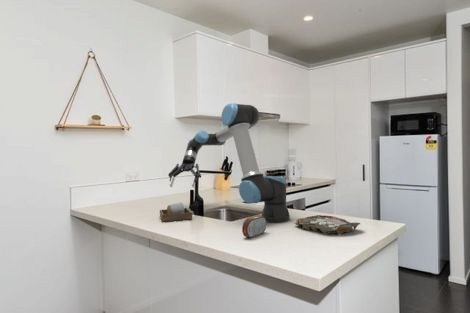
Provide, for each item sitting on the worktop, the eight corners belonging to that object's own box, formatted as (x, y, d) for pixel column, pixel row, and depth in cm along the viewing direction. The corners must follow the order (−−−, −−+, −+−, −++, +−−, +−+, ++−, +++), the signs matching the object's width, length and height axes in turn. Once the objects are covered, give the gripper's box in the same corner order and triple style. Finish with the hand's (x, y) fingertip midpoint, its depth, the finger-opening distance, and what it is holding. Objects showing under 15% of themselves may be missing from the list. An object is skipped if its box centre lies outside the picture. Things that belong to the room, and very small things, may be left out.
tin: (262, 231, 152) (261, 213, 152) (267, 232, 150) (267, 214, 150) (241, 239, 140) (241, 219, 140) (247, 240, 138) (247, 220, 138)
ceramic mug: (166, 216, 185) (166, 203, 185) (180, 214, 189) (180, 201, 189) (172, 220, 176) (172, 206, 176) (187, 218, 180) (187, 204, 180)
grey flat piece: (285, 227, 161) (284, 216, 161) (314, 220, 174) (314, 210, 174) (337, 240, 137) (336, 227, 137) (366, 230, 150) (366, 219, 150)
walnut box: (192, 220, 179) (192, 212, 179) (162, 222, 174) (162, 215, 174) (187, 214, 194) (187, 207, 194) (160, 216, 189) (159, 209, 189)
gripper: (210, 163, 208) (203, 189, 194) (172, 163, 213) (163, 189, 199) (207, 154, 203) (200, 181, 189) (169, 155, 208) (159, 181, 194)
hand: (181, 185), depth 194 cm, fingers open, 13 cm apart
